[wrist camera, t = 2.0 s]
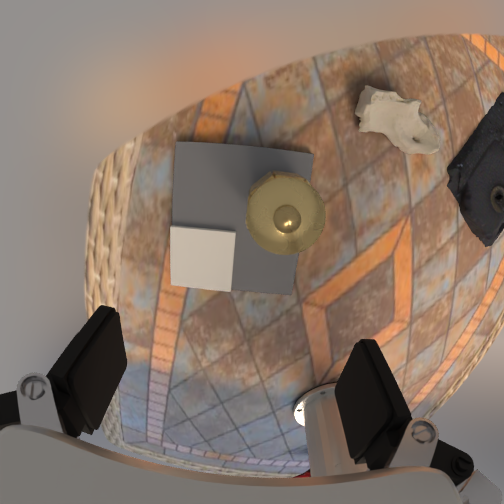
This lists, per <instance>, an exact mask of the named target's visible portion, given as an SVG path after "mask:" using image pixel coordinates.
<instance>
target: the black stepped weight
mask: <svg viewBox="0 0 504 504" xmlns="http://www.w3.org/2000/svg"><path fill="white" fill-rule="evenodd" d="M447 170H448V174H449V175H450V180H449V183H448V184H447V187H448V188H449V189H450V190H451V192H452V193H453V195H454V197H455V198H456V200H457V201H458V203H459V206H460V211H461V214H462V216H463V218H464V220H465V221H466V223H467V224H468V226H469V228H470V229H471V231H472V232H473V233H474V234H475V235H476V237H479V239H480V241H481V240H482V242H483V244H484V245H485V247H488V246H491V245H492V244H493V243H494V241H495V240H496V239H497V238H498V236H499V235H500V233H501V232H502V231H503V229H504V93H501V94H500V96H499V97H498V98H497V99H496V102H495V104H494V106H492V107H491V109H490V110H489V111H488V113H487V114H486V115H485V117H484V118H483V119H482V120H481V122H480V123H479V125H478V127H477V129H476V130H475V131H474V133H473V134H472V135H471V136H470V138H469V140H468V141H467V143H466V144H465V145H464V147H463V148H462V150H461V151H460V152H459V154H458V155H457V156H456V157H455V158H454V159H453V161H452V163H451V164H450V165H449V166H448V168H447Z"/></svg>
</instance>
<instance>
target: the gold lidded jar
mask: <svg viewBox="0 0 504 504" xmlns="http://www.w3.org/2000/svg"><path fill="white" fill-rule="evenodd" d="M323 203H324V202H323V201H322V199H321V197H320V195H319V194H318V193H317V191H316V190H315V189H314V188H313V187H312V186H311V184H310V183H309V182H308V180H306V179H305V178H303V177H302V176H300V175H299V174H297V173H290V172H282V171H274V170H273V174H272V173H271V172H268V173H267V174H266V175H265V176H263V177H262V178H261V179H259V180H258V181H257V182H256V183H254V184H253V185H252V186H251V189H249V195H248V204H247V212H246V224H247V226H246V227H247V228H248V230H249V232H250V234H251V236H252V238H253V239H254V240H255V242H256V243H257V244H258V245H259V246H261V247H262V248H263V249H265V250H267V251H269V252H271V253H275V254H279V255H291V254H296V253H299V252H302V251H304V250H306V249H307V248H309V247H310V246H311V245H312V244H314V243H315V241H316V240H317V239H318V238H319V236H320V235H321V233H322V230H323V228H324V224H325V218H326V216H325V207H324V204H323Z"/></svg>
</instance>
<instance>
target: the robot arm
mask: <svg viewBox="0 0 504 504" xmlns="http://www.w3.org/2000/svg"><path fill="white" fill-rule="evenodd" d="M126 367H127V358H126V352H125V347H124V341H123V335H122V329H121V323H120V316H119V313H118V312H116V310H115V308H112V307H108V306H104V305H101V306H99V307H98V309H97V310H96V311H95V312H94V314H93V315H92V316H91V317H90V319H89V320H88V321H87V323H86V324H85V325H84V326H83V328H82V329H81V330H80V332H79V333H78V334H77V335H76V336H75V337H74V338H73V340H72V341H71V342H70V344H69V345H68V346H67V347H66V349H65V350H64V352H63V353H62V354H61V356H60V357H59V358H58V360H57V361H56V363H55V364H54V365H53V367H52V368H51V370H50V371H49V373H48V374H47V375H46V376H44V375H43V374H40V373H30V374H27V375H25V376H24V377H22V378H21V380H20V381H19V382H18V385H17V390H16V391H12V392H8V393H4V394H0V504H501V501H502V493H501V491H500V489H499V488H498V487H497V486H496V485H494V484H493V483H492V482H491V481H490V480H489V479H488V478H487V477H486V476H484V475H483V474H482V473H481V472H480V471H479V470H478V469H477V470H475V471H474V464H473V460H472V458H471V457H470V456H469V455H468V454H467V453H465V452H463V451H461V450H459V449H457V448H455V447H453V446H451V445H449V444H447V443H445V442H443V441H441V440H439V439H438V437H439V433H438V429H437V427H436V425H434V423H433V422H432V421H430V420H428V419H426V418H415V419H412V417H411V413H410V411H409V408H408V406H407V404H406V402H405V399H404V397H403V395H402V393H401V391H400V389H399V387H398V384H397V382H396V380H395V378H394V376H393V374H392V372H391V370H390V368H389V366H388V364H387V362H386V360H385V358H384V356H383V354H382V352H381V350H380V348H379V346H378V344H377V342H376V341H375V340H374V339H361V340H360V341H359V342H357V343H356V344H355V345H354V348H353V350H352V352H351V354H350V357H349V359H348V361H347V363H346V365H345V367H344V369H343V371H342V374H341V376H340V378H339V380H338V382H337V383H331V384H326V385H323V386H320V387H317V388H315V389H313V390H311V391H309V392H307V393H306V394H304V395H303V396H302V397H301V398H300V399H299V400H298V401H297V402H296V404H295V406H294V411H293V412H294V417H295V420H296V421H297V422H298V423H299V424H301V425H303V426H305V432H306V440H307V447H308V455H309V463H310V472H311V477H302V478H259V477H241V476H229V475H220V474H211V473H204V472H197V471H191V470H185V469H180V468H174V467H170V466H165V465H160V464H156V463H152V462H148V461H144V460H140V459H136V458H133V457H130V456H126V455H123V454H120V453H117V452H113V451H110V450H107V449H104V448H101V447H98V446H95V445H93V444H90V443H87V442H84V441H82V440H80V438H79V436H80V435H81V432H85V433H87V434H90V435H92V434H93V431H94V429H95V430H97V429H98V428H99V427H100V424H101V422H102V420H103V417H104V415H105V413H106V411H107V408H108V406H109V404H110V402H111V400H112V397H113V395H114V393H115V391H116V389H117V387H118V385H119V382H120V380H121V378H122V376H123V374H124V372H125V370H126Z"/></svg>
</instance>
